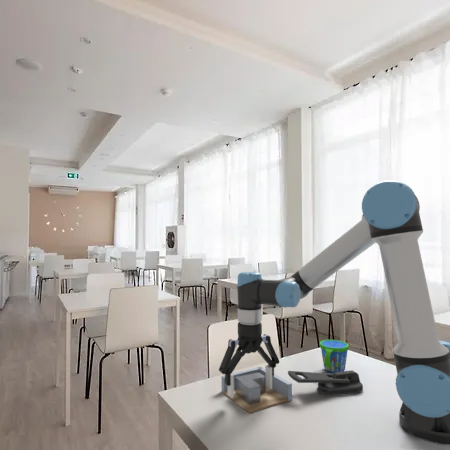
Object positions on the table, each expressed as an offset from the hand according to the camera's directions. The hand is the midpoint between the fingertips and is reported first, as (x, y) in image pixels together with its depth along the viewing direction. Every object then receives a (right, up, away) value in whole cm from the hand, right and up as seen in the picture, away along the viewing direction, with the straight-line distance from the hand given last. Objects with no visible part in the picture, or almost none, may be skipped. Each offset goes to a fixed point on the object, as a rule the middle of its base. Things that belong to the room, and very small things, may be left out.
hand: (250, 391), depth 105 cm
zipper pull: (+26, -4, +7) cm, 27 cm away
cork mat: (+2, -3, +3) cm, 5 cm away
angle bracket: (+1, -3, +3) cm, 4 cm away
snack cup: (+34, -4, +25) cm, 42 cm away
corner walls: (+2, -3, +4) cm, 6 cm away
